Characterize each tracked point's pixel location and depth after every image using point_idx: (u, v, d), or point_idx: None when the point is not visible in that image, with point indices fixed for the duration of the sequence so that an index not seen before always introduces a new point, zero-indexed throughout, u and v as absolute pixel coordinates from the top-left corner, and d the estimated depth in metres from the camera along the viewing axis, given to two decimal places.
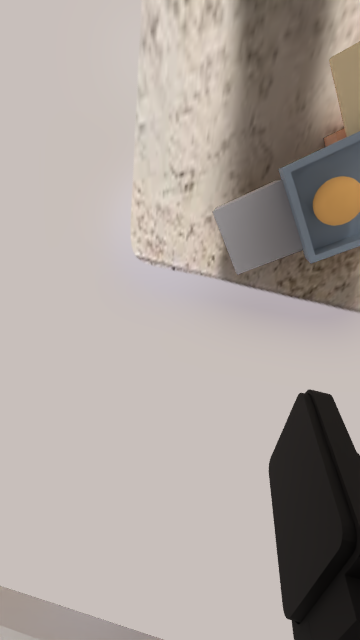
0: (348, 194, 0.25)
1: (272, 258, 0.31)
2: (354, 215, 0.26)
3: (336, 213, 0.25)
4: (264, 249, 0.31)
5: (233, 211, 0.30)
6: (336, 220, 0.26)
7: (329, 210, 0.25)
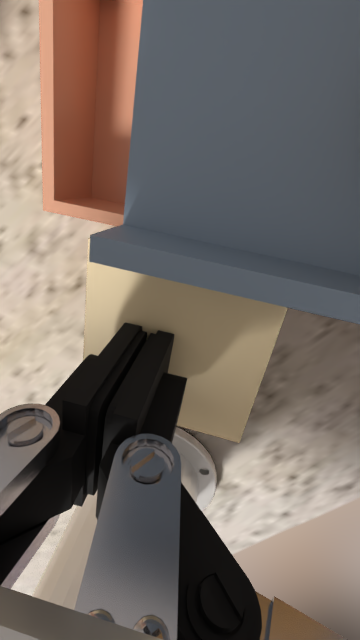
0: None
1: None
2: None
3: None
4: None
5: None
6: None
7: None
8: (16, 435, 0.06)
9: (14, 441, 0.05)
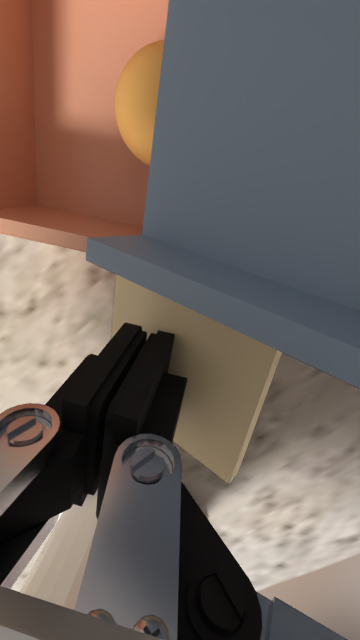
0: None
1: None
2: None
3: None
4: None
5: None
6: None
7: None
8: (16, 435, 0.06)
9: (14, 441, 0.05)
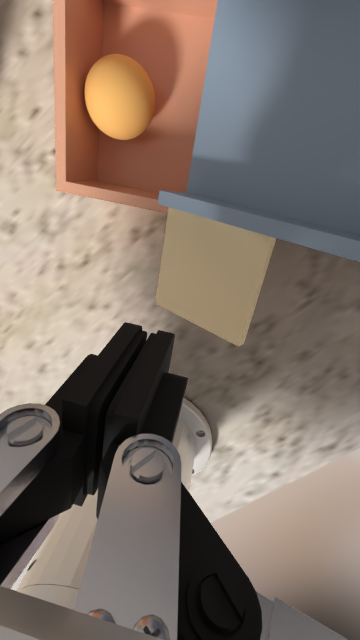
0: (139, 111, 0.17)
1: None
2: (130, 64, 0.16)
3: (153, 92, 0.17)
4: None
5: None
6: (149, 78, 0.17)
7: (154, 103, 0.18)
8: (16, 435, 0.06)
9: (14, 441, 0.05)
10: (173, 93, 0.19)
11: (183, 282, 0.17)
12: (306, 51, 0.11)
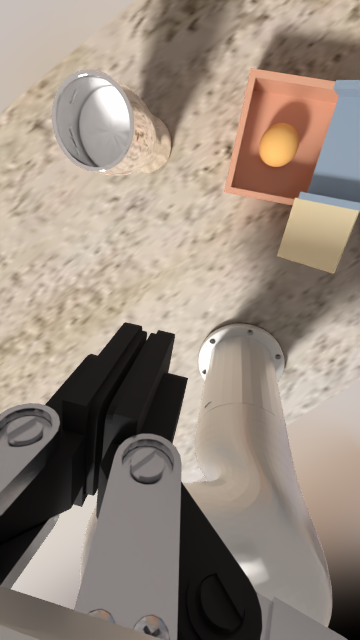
0: None
1: None
2: (296, 132, 0.31)
3: None
4: None
5: None
6: None
7: None
8: (16, 435, 0.06)
9: (14, 441, 0.05)
10: None
11: (299, 241, 0.31)
12: None
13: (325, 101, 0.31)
